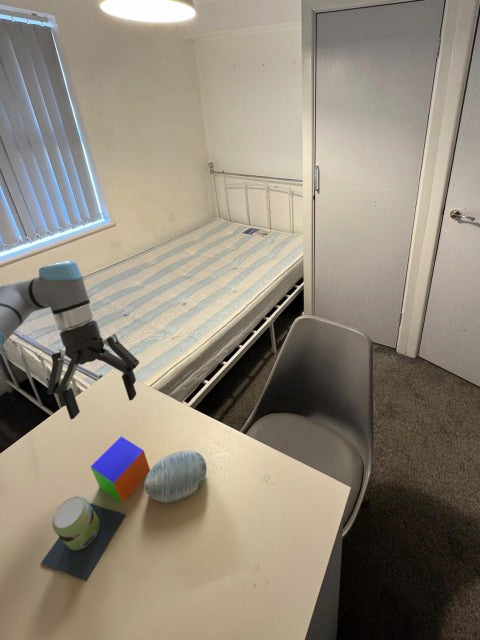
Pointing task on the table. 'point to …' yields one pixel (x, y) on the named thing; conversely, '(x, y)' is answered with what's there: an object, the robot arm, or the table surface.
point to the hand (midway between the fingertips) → (104, 406)
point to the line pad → (86, 558)
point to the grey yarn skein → (175, 476)
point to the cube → (121, 469)
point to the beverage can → (76, 523)
